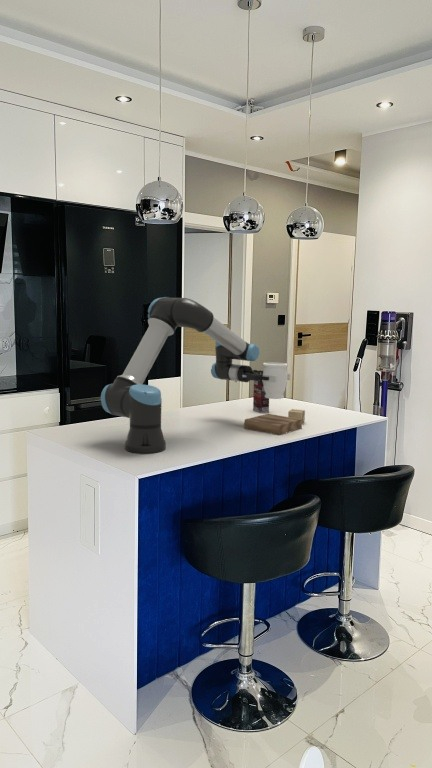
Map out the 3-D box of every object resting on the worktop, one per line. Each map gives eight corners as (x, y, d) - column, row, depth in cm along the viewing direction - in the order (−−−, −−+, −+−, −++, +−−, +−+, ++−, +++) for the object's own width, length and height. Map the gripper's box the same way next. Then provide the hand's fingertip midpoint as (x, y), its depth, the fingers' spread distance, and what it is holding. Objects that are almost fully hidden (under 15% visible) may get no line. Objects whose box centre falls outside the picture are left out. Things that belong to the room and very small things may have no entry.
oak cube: (300, 425, 271) (301, 412, 270) (288, 424, 273) (288, 411, 272) (304, 423, 276) (304, 410, 276) (291, 421, 279) (292, 409, 278)
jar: (267, 400, 256) (268, 364, 253) (258, 396, 265) (259, 362, 263) (290, 399, 258) (291, 364, 256) (281, 395, 268) (282, 361, 266)
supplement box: (252, 410, 304) (253, 379, 302) (260, 409, 306) (261, 378, 304) (260, 413, 297) (261, 381, 294) (269, 412, 299) (270, 381, 296)
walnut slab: (279, 435, 251) (279, 425, 251) (244, 428, 262) (244, 419, 262) (301, 428, 265) (301, 419, 265) (267, 422, 276) (267, 413, 276)
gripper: (255, 379, 281) (296, 384, 267) (225, 384, 264) (267, 389, 250) (255, 363, 280) (297, 367, 266) (226, 367, 262) (268, 371, 249)
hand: (283, 378), depth 258 cm, fingers closed on jar, 10 cm apart
